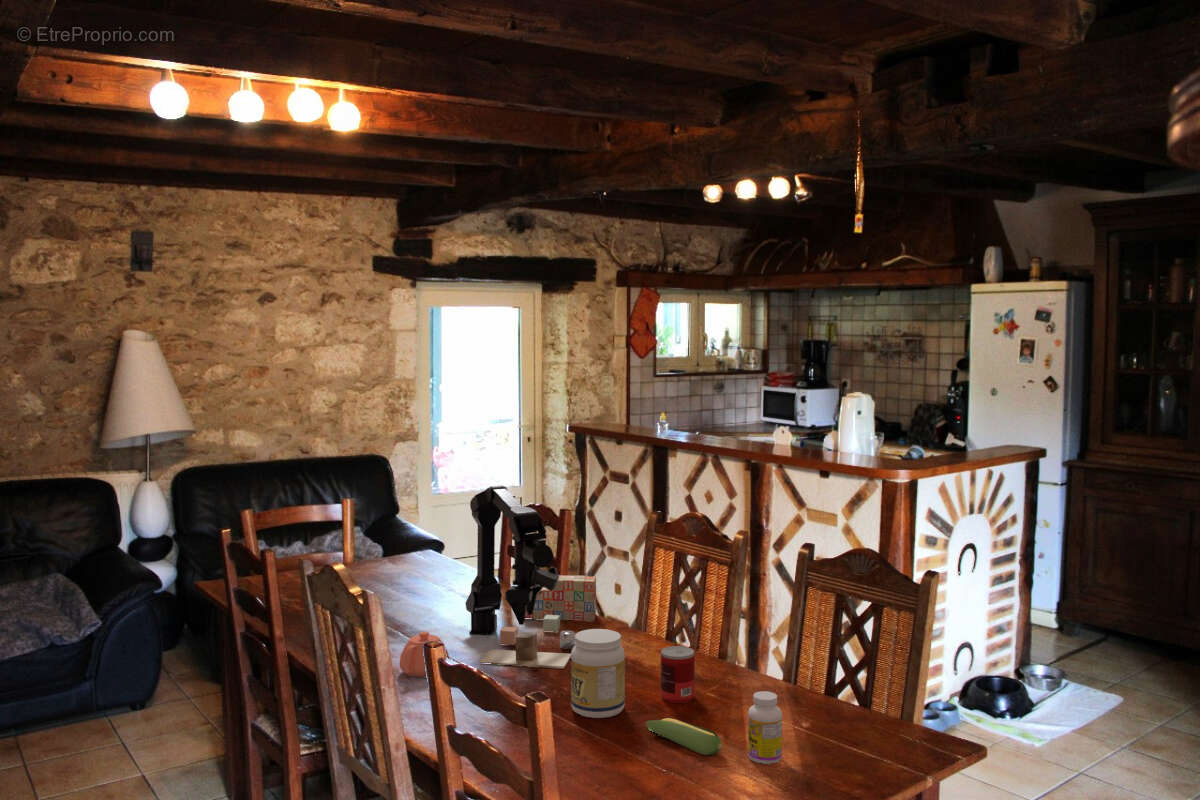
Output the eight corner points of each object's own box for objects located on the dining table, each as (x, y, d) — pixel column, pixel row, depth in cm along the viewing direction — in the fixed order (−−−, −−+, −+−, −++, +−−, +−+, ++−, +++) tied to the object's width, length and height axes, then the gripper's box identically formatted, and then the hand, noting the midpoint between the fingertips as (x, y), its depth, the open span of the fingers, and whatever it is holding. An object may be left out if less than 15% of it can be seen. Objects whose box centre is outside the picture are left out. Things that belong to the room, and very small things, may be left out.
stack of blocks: (522, 620, 290) (522, 579, 289) (525, 614, 296) (525, 574, 295) (594, 622, 288) (594, 580, 287) (596, 616, 294) (596, 575, 293)
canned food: (697, 693, 230) (697, 647, 229) (689, 705, 222) (689, 658, 221) (666, 689, 232) (666, 644, 231) (656, 701, 225) (656, 654, 224)
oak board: (479, 664, 251) (479, 661, 251) (490, 651, 260) (490, 649, 260) (563, 668, 247) (563, 666, 247) (571, 656, 257) (571, 653, 257)
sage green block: (543, 632, 277) (543, 618, 277) (546, 628, 281) (546, 614, 281) (557, 633, 277) (557, 619, 277) (560, 629, 281) (559, 615, 280)
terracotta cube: (500, 645, 266) (500, 630, 266) (504, 640, 270) (503, 626, 270) (514, 646, 266) (514, 631, 265) (518, 641, 269) (518, 627, 269)
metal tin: (558, 649, 262) (558, 634, 262) (561, 644, 266) (561, 630, 266) (573, 650, 262) (573, 635, 262) (576, 645, 266) (576, 630, 265)
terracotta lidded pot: (459, 668, 248) (458, 628, 247) (426, 686, 235) (426, 644, 234) (418, 662, 253) (418, 623, 252) (385, 679, 240) (384, 638, 239)
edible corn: (712, 763, 193) (712, 740, 193) (639, 733, 207) (639, 712, 207) (728, 755, 196) (728, 733, 196) (655, 726, 211) (656, 705, 211)
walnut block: (515, 660, 252) (515, 637, 251) (520, 654, 256) (519, 631, 256) (532, 660, 251) (532, 638, 251) (536, 655, 256) (536, 632, 255)
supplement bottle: (744, 752, 197) (744, 689, 197) (776, 750, 198) (777, 688, 197) (752, 766, 191) (752, 702, 190) (785, 765, 191) (786, 700, 190)
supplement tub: (562, 704, 223) (562, 630, 222) (611, 696, 228) (611, 624, 227) (583, 723, 212) (583, 646, 211) (634, 714, 217) (634, 639, 216)
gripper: (548, 569, 241) (548, 631, 242) (563, 552, 260) (564, 610, 261) (504, 567, 243) (505, 629, 244) (522, 551, 262) (523, 609, 263)
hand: (526, 619), depth 253 cm, fingers open, 9 cm apart
